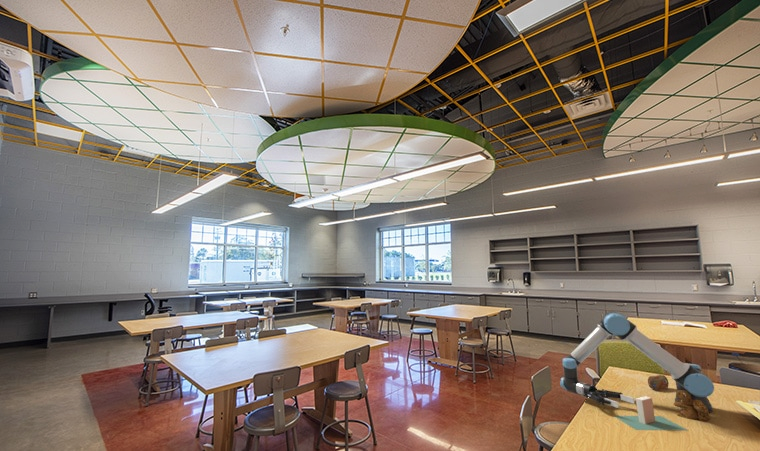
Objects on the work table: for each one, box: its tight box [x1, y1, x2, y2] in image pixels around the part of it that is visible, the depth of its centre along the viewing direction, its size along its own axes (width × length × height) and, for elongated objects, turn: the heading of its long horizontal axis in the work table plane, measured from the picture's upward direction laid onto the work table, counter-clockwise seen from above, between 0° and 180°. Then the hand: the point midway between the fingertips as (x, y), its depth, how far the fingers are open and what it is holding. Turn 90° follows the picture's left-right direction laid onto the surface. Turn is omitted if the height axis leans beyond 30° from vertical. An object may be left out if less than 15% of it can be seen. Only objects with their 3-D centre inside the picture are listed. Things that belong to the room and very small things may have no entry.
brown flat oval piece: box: [647, 374, 669, 391], centre depth 207 cm, size 15×3×8 cm, turn 105°
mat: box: [613, 415, 688, 431], centre depth 159 cm, size 24×16×1 cm, turn 87°
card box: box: [635, 395, 656, 424], centre depth 160 cm, size 8×3×11 cm, turn 112°
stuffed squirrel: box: [673, 390, 711, 422], centre depth 165 cm, size 10×14×13 cm
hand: (626, 403), depth 169 cm, fingers open, 13 cm apart
